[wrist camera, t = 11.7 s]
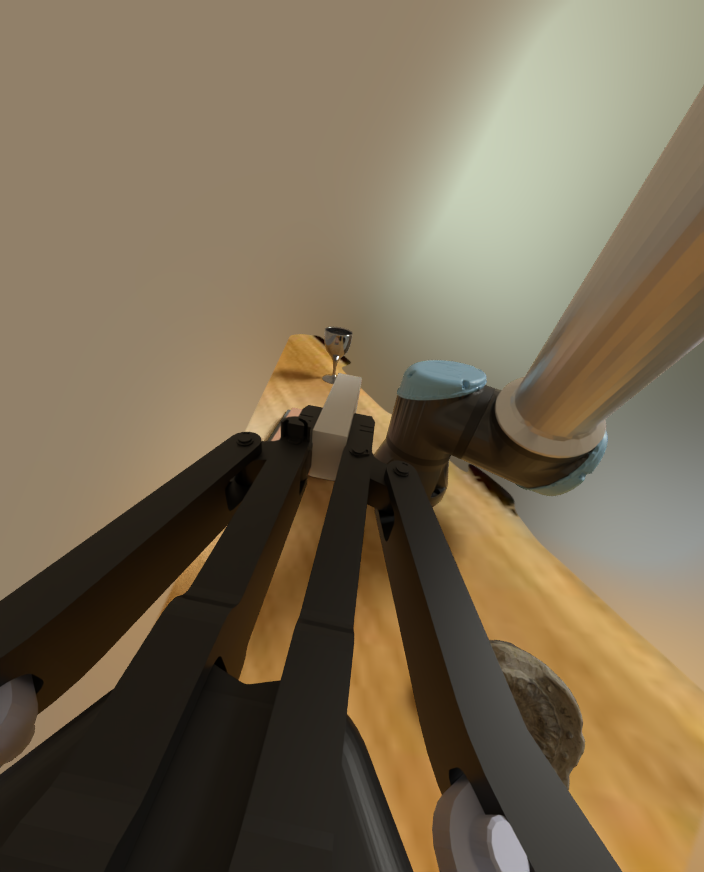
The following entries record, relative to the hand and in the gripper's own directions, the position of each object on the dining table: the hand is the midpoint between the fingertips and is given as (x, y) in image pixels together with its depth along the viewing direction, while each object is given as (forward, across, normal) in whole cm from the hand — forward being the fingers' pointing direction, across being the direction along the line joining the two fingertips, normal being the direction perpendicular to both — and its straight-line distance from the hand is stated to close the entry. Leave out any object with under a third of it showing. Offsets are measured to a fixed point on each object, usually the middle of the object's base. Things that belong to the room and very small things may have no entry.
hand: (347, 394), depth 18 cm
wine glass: (+64, -10, -28) cm, 71 cm away
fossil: (-7, +20, -28) cm, 35 cm away
